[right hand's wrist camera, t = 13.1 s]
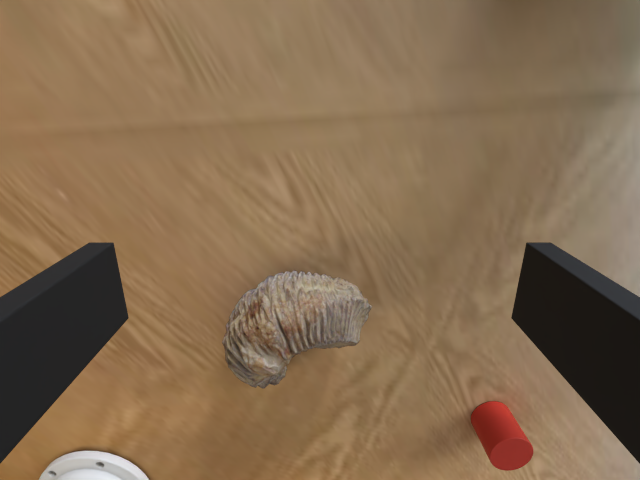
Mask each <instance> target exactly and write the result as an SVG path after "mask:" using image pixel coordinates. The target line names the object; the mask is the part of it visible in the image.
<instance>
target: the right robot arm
mask: <svg viewBox="0 0 640 480" xmlns="http://www.w3.org/2000/svg"><path fill="white" fill-rule="evenodd" d="M127 319H128V313H127V308H126V303H125V298H124V293H123V288H122V283H121V278H120V273H119V268H118V263H117V258H116V253H115V248H114V243H88V244H86V245H85V246H83V247H82V248H80V249H78V250H77V251H75V252H73V253H72V254H70V255H69V256H67V257H65V258H64V259H62V260H60V261H59V262H57V263H55V264H54V265H52V266H51V267H49V268H47V269H46V270H44V271H42V272H41V273H39V274H38V275H36V276H34V277H33V278H31V279H29V280H28V281H26V282H25V283H23V284H21V285H20V286H18V287H16V288H15V289H13V290H12V291H10V292H8V293H7V294H5V295H3V296H2V297H0V463H1V462H2V461H3V460H4V459H5V458H6V456H7V455H8V454H9V453H10V452H11V451H12V450H13V448H14V447H15V446H16V445H17V444H18V443H19V442H20V441H21V439H22V438H23V437H24V436H25V435H26V434H27V433H28V431H29V430H30V429H31V428H32V427H33V426H34V425H35V424H36V422H37V421H38V420H39V419H40V418H41V417H42V416H43V414H44V413H45V412H46V411H47V410H48V409H49V408H50V406H51V405H52V404H53V403H54V402H55V401H56V400H57V399H58V397H59V396H60V395H61V394H62V393H63V392H64V391H65V389H66V388H67V387H68V386H69V385H70V384H71V383H72V382H73V380H74V379H75V378H76V377H77V376H78V375H79V374H80V372H81V371H82V370H83V369H84V368H85V367H86V366H87V365H88V363H89V362H90V361H91V360H92V359H93V358H94V357H95V355H96V354H97V353H98V352H99V351H100V350H101V349H102V348H103V346H104V345H105V344H106V343H107V342H108V341H109V340H110V338H111V337H112V336H113V335H114V334H115V333H116V332H117V331H118V329H119V328H120V327H121V326H122V325H123V324H124V323H125V321H126V320H127ZM512 319H513V320H514V321H515V323H516V324H517V325H518V326H519V327H520V328H521V329H522V331H523V332H524V333H525V334H526V335H527V336H528V337H529V338H530V340H531V341H532V342H533V343H534V344H535V345H536V346H537V348H538V349H539V350H540V351H541V352H542V353H543V354H544V355H545V357H546V358H547V359H548V360H549V361H550V362H551V363H552V365H553V366H554V367H555V368H556V369H557V370H558V371H559V372H560V374H561V375H562V376H563V377H564V378H565V379H566V380H567V382H568V383H569V384H570V385H571V386H572V387H573V388H574V389H575V391H576V392H577V393H578V394H579V395H580V396H581V397H582V399H583V400H584V401H585V402H586V403H587V404H588V405H589V406H590V408H591V409H592V410H593V411H594V412H595V413H596V414H597V416H598V417H599V418H600V419H601V420H602V421H603V422H604V424H605V425H606V426H607V427H608V428H609V429H610V430H611V431H612V433H613V434H614V435H615V436H616V437H617V438H618V439H619V441H620V442H621V443H622V444H623V445H624V446H625V447H626V448H627V450H628V451H629V452H630V453H631V454H632V455H633V456H634V458H635V459H636V460H637V461H638V462H639V463H640V297H638V296H637V295H635V294H633V293H632V292H630V291H628V290H627V289H625V288H624V287H622V286H620V285H619V284H617V283H615V282H614V281H612V280H611V279H609V278H607V277H606V276H604V275H602V274H601V273H599V272H598V271H596V270H594V269H593V268H591V267H589V266H588V265H586V264H585V263H583V262H581V261H580V260H578V259H576V258H575V257H573V256H571V255H570V254H568V253H567V252H565V251H563V250H562V249H560V248H558V247H557V246H555V245H554V244H552V243H526V248H525V253H524V258H523V263H522V268H521V273H520V278H519V283H518V288H517V293H516V298H515V303H514V308H513V313H512Z"/></svg>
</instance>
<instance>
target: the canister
mask: <svg viewBox="0 0 640 480" xmlns="http://www.w3.org/2000/svg"><path fill="white" fill-rule="evenodd" d="M471 423H472V425H473V427H474V429H475V431H476V433H477V435H478V437H479V439H480V441H481V443H482V445H483V447H484V449H485V451H486V453H487V455H488V457H489V459H490V461H491V463H492V464H493V466H495V467H496V468H498V469H501V470H515V469H518V468H520V467H522V466H524V465H526V464H527V463H528V462H529V461H530V459H531V458H532V455H533V447H532V445H531V443H530V442H529V440H528V439H527V437H526V436H525V434H524V432H523V431H522V429H521V428H520V426H519V425H518V423H517V421H516V420H515V418H514V417H513V415H512V414H511V412H510V410H509V409H508V407H507V406H506V405H504V404H503V403H500V402H495V401H492V402H486V403H483V404H481V405H480V406H478V407H477V408H476V409H475V410H474V411H473V413H472V415H471Z"/></svg>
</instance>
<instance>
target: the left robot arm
mask: <svg viewBox="0 0 640 480" xmlns="http://www.w3.org/2000/svg"><path fill="white" fill-rule="evenodd" d="M39 480H149V479H148V478H147V476H146V475H145V474H144V472H142V471H141V470H140V469H139V468H138V467H137V466H136V465H134V464H133V463H131V462H130V461H128V460H126V459H124V458H121V457H119V456H116V455H113V454H110V453H106V452H100V451H78V452H73V453H69V454H65V455H63V456H61V457H59V458H57V459H55V460H54V461H53V462H52V463H50V464H49V466H48V467H47V468H46V469H45V471H44V472H43V473H42V475H41V477H40V478H39Z"/></svg>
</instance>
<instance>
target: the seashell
mask: <svg viewBox="0 0 640 480" xmlns="http://www.w3.org/2000/svg"><path fill="white" fill-rule="evenodd" d="M371 308H372V306H371V305H370V304H369V303H368V300H367V299H366V298H363V295H362V293H361V291H359V289H358V286H356V285H354V284H352V283H349V282H348V281H347V280H344V279H341V278H338V277H337V278H333V279H332V278H331V276H327V275H326V274H323V275H321V276H320V275H319V274H317V273H314V274H313V275H312V274H311V273H310V272H308V273H307V274H306V275H305V272H303V271H301V272H300V273H299V274H298V272H297V271H292V273H290V272H288V271H286V272H285V273H278V274H276V275H275V276H268V277H267V278H266V280H265V281H262V282H261V283H260V284H258V287H257V288H256V289H252V290H249V291H247V292H246V293H245V294H244V295H243V296H242V297H241V299H240V301H239V302H238V304H237V305H236V307H235V309H234V310H233V312H232V313H231V315H230V317H229V322H228V323H227V324H226V330H227V333H225V336H224V339H223V341H222V343H223V345H224V348H225V359H226V362H227V363H228V367H229V368H230V369H231V370H232V372H233V373H234V374H235V375H236V376H237V377H238V378H239V379H240V380H241V381H243V382H245V383H247V384H249V385H250V386H252V387H257V386H259V387H261V388H265V387H266V386H268V384H272V385H276V384H279V382H280V380H281V379H282V378H284V377H285V374H286V370H287V367H286V366H287V365H288V364H289V362H290V360H291V358H292V357H294V356H295V355H296V354H300V353H301V352H302V351H307V350H308V349H312V348H323V349H325V348H334V347H338V348H341V347H345V346H354V345H356V344H357V343H358V342H359V341H360V331H361V328H362V326H363V325H364V323H365V322H366V321H367V319H368V312H369V311H370V309H371Z"/></svg>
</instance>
